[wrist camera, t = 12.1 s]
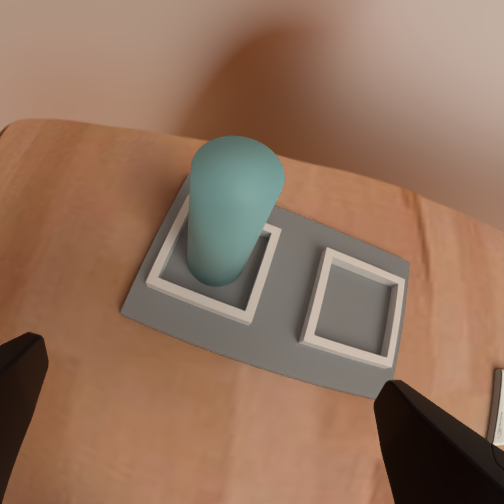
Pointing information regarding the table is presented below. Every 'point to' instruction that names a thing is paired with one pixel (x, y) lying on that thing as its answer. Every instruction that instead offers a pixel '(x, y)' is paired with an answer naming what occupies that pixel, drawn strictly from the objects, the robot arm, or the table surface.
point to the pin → (229, 205)
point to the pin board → (282, 302)
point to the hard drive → (497, 411)
